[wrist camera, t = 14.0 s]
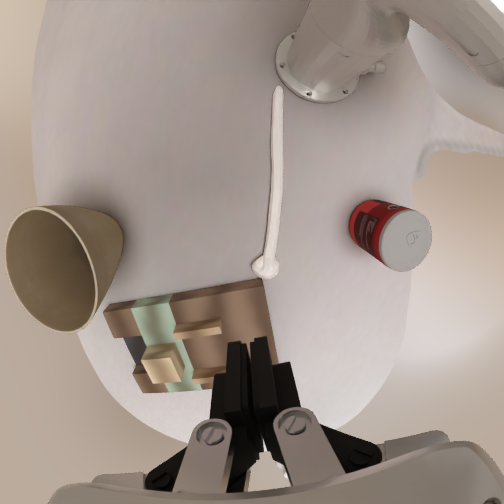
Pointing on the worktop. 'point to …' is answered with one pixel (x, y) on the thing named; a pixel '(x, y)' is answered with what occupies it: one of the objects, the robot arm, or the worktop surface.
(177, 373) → the block
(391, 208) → the canned food
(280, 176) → the white knobbed rod
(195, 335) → the wooden block puzzle
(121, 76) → the worktop surface
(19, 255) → the plant pot
